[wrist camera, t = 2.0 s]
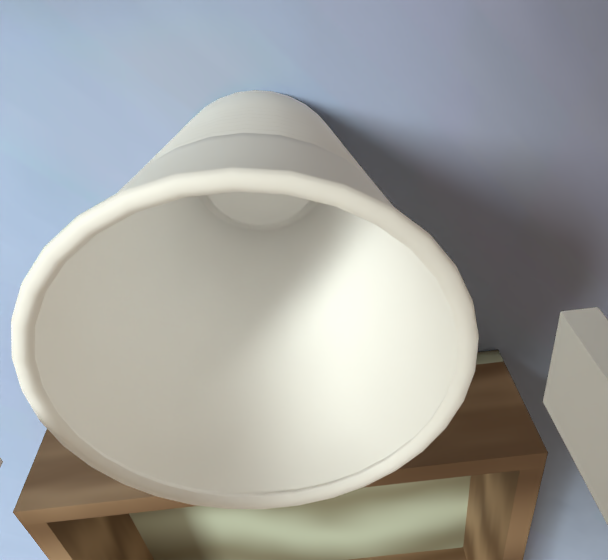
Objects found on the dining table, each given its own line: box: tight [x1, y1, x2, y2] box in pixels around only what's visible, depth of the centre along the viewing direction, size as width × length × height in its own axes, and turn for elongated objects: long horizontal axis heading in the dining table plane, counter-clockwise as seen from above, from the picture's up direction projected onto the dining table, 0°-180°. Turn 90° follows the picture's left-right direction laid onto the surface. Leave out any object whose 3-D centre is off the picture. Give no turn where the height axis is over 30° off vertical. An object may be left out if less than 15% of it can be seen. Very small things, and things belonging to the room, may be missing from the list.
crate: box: [13, 350, 548, 560], centre depth 30 cm, size 18×22×6 cm
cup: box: [11, 90, 479, 509], centre depth 16 cm, size 10×10×11 cm
